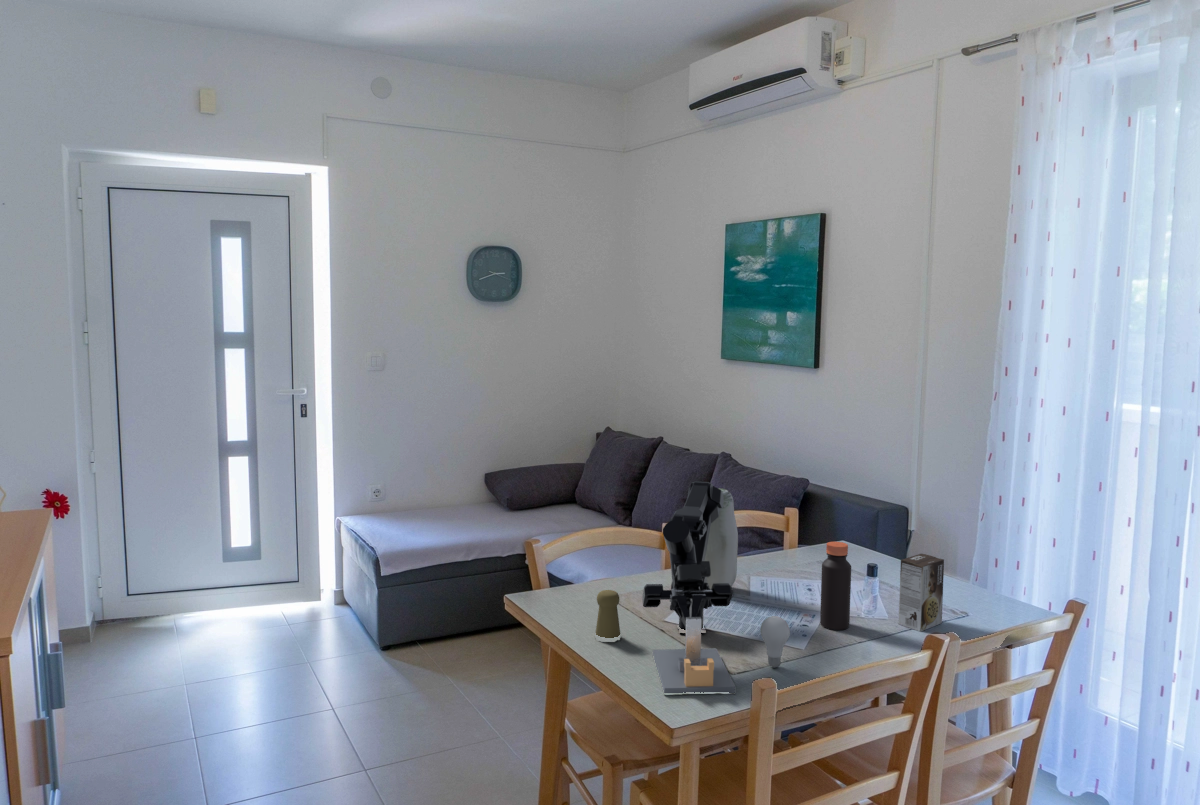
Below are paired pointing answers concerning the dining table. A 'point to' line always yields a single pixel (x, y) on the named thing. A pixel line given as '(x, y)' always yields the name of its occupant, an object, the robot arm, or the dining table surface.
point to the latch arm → (693, 640)
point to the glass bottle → (723, 544)
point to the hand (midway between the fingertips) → (691, 633)
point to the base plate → (678, 677)
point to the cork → (608, 614)
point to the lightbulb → (774, 638)
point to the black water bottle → (835, 587)
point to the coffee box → (921, 592)
